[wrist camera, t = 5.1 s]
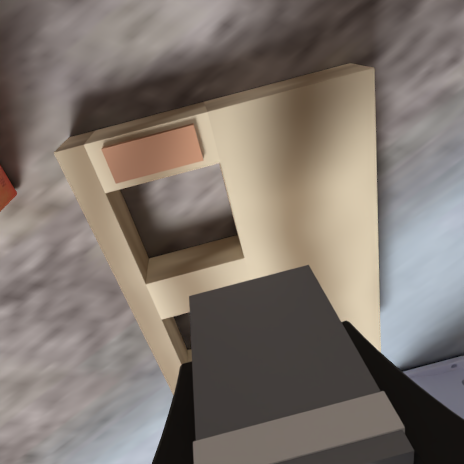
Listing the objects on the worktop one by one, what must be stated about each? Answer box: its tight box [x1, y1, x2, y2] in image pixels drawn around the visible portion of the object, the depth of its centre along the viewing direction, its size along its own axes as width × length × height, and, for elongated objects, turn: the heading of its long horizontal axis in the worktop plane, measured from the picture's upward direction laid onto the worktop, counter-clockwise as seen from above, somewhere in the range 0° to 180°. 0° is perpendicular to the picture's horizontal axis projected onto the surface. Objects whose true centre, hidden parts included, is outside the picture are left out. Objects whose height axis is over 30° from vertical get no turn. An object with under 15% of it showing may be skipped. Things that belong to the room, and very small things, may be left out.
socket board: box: [54, 63, 381, 395], centre depth 21 cm, size 14×18×3 cm
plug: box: [189, 265, 414, 464], centre depth 10 cm, size 4×4×6 cm
